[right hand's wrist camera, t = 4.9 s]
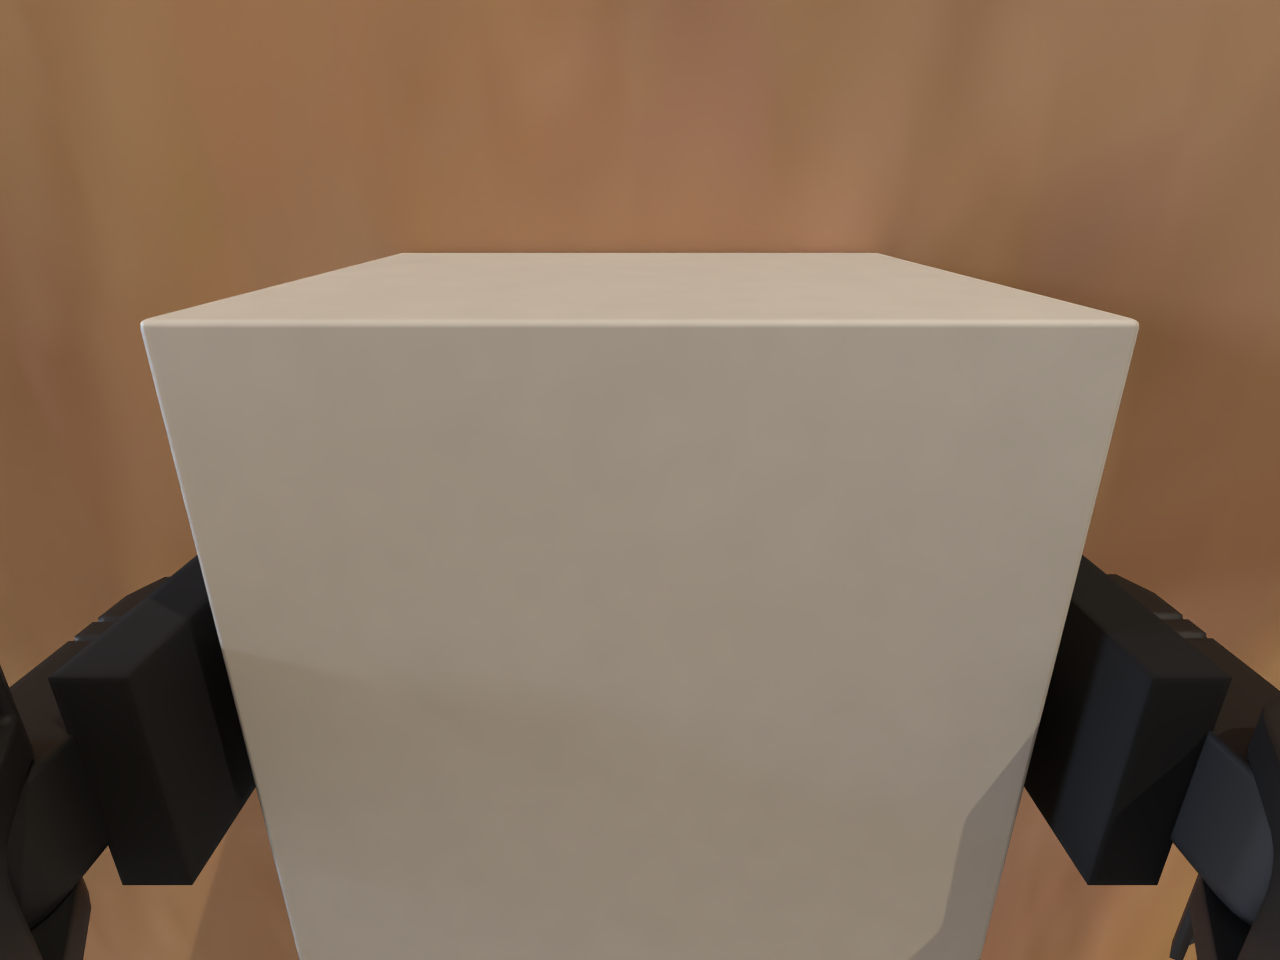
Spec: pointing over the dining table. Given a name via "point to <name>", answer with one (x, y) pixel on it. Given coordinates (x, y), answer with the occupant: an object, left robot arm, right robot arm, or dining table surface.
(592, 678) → the white cube
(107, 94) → the dining table surface
